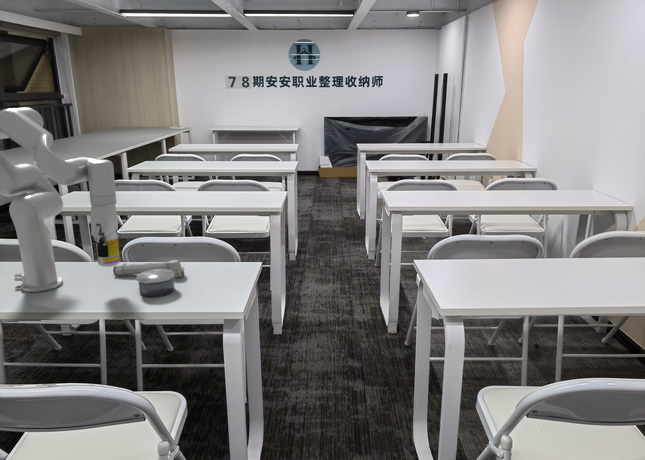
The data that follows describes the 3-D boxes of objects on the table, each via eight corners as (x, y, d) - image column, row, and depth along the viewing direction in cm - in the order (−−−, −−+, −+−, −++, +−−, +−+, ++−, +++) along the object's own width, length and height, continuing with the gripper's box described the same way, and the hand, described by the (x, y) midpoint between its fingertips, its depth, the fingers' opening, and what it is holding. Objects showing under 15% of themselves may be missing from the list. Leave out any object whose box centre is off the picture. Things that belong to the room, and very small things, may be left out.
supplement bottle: (124, 262, 168) (121, 224, 165) (108, 268, 162) (105, 229, 159) (109, 259, 171) (106, 222, 167) (93, 265, 165) (89, 226, 162)
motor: (132, 298, 163) (130, 281, 162) (146, 283, 176) (144, 267, 174) (169, 298, 163) (168, 281, 161) (181, 283, 176) (179, 267, 174)
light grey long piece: (117, 262, 185) (183, 255, 182) (122, 280, 187) (187, 272, 184) (111, 267, 180) (178, 260, 177) (115, 285, 182) (182, 277, 179)
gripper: (103, 193, 169) (107, 244, 174) (78, 205, 152) (84, 261, 157) (125, 194, 169) (129, 245, 174) (103, 206, 152) (108, 262, 157)
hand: (108, 252), depth 166 cm, fingers closed on supplement bottle, 6 cm apart
